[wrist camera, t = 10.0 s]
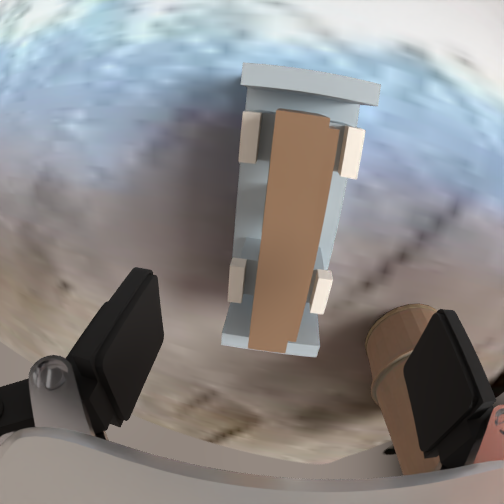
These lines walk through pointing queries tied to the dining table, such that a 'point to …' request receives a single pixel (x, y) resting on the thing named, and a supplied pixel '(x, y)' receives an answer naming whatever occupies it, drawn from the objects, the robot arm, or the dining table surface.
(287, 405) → the dining table surface
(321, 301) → the display cradle
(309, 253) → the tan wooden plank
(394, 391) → the binoculars
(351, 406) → the dining table surface
